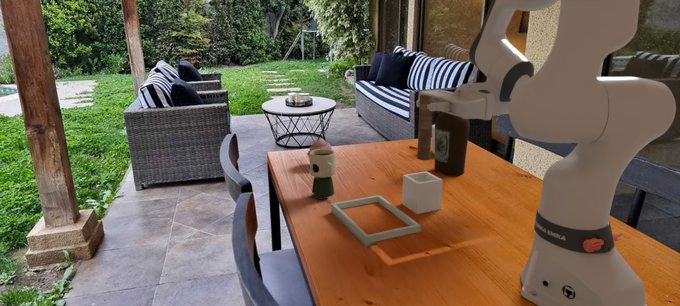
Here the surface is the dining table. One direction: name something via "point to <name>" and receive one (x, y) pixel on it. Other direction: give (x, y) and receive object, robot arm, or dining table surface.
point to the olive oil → (450, 144)
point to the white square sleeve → (422, 192)
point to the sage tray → (371, 238)
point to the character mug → (322, 172)
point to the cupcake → (319, 145)
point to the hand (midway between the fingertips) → (423, 105)
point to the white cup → (433, 139)
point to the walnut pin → (424, 127)
